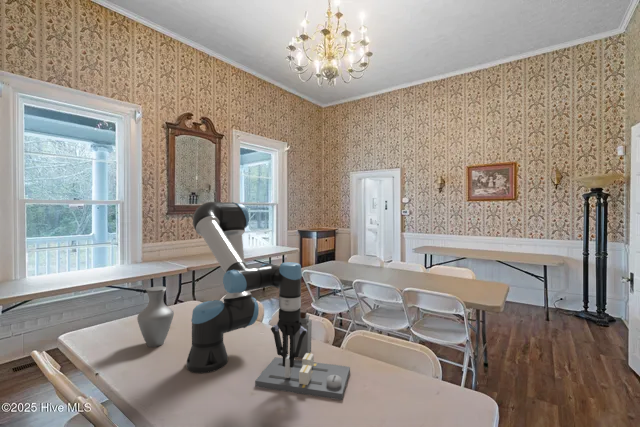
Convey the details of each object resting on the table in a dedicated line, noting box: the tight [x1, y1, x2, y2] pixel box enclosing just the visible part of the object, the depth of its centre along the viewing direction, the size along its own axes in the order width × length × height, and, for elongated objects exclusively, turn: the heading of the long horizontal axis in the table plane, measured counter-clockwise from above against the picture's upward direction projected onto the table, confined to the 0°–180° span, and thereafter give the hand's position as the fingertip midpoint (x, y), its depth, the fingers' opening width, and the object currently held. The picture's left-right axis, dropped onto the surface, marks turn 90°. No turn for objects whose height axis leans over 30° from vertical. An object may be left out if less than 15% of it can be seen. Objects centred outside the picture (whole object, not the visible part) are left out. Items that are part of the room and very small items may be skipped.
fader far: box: [301, 352, 315, 367], centre depth 114 cm, size 3×5×4 cm, turn 166°
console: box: [254, 357, 351, 401], centre depth 110 cm, size 30×18×4 cm, turn 76°
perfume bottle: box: [295, 309, 313, 359], centre depth 130 cm, size 7×7×18 cm
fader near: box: [299, 365, 312, 385], centre depth 105 cm, size 3×5×4 cm, turn 166°
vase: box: [136, 285, 175, 348], centre depth 138 cm, size 14×14×25 cm
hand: (288, 375), depth 107 cm, fingers closed
